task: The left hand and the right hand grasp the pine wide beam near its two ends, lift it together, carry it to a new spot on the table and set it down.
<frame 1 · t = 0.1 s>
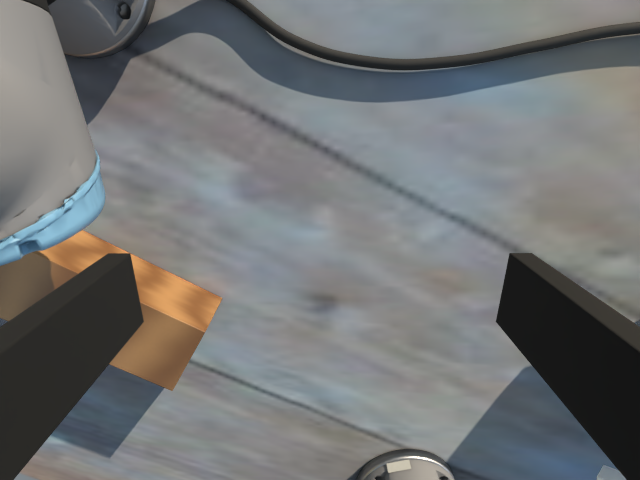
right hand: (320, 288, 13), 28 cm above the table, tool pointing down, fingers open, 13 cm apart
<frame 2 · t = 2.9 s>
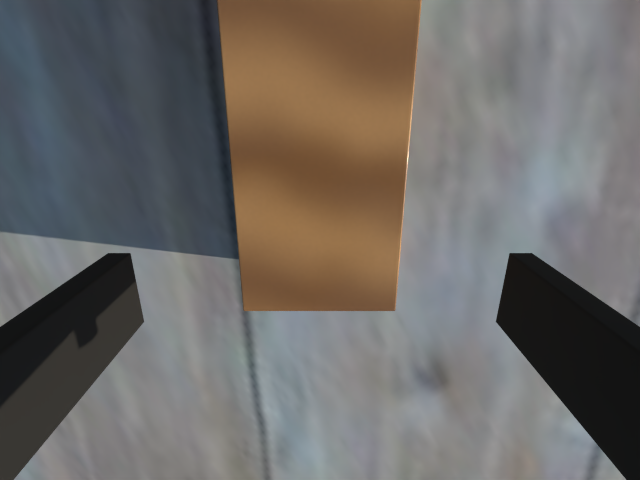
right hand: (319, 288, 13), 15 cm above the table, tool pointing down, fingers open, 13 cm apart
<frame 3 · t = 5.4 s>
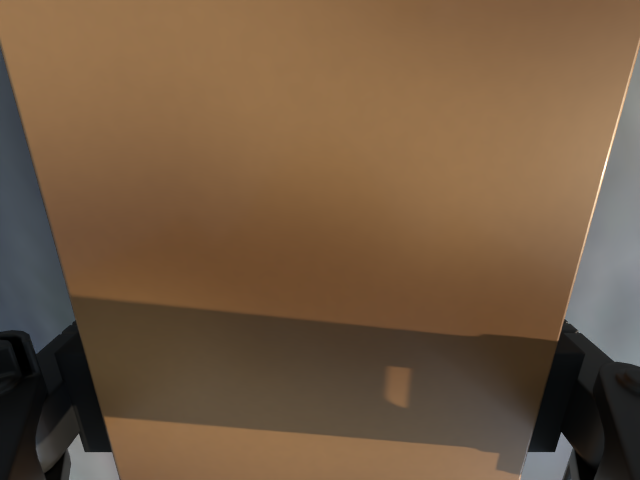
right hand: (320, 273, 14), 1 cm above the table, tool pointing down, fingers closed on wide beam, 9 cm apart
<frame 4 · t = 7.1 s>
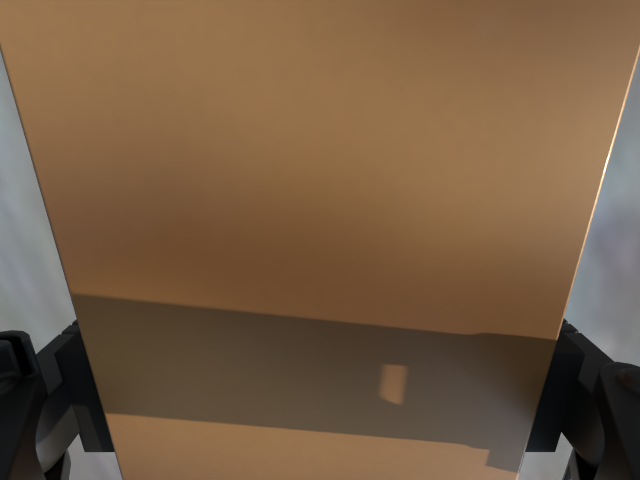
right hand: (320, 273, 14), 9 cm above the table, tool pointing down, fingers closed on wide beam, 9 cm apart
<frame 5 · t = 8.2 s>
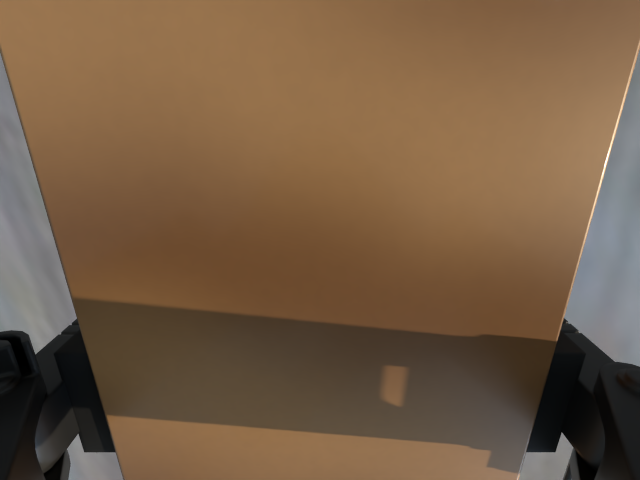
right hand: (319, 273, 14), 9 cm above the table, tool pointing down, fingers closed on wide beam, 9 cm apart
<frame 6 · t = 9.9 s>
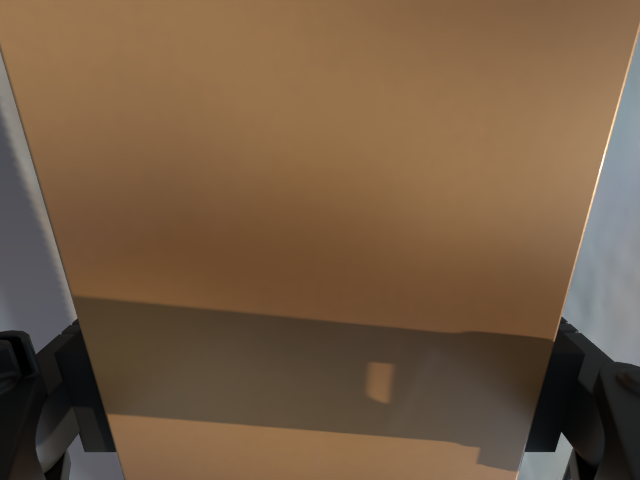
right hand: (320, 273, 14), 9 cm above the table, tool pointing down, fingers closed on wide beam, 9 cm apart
when the left hand's fingers open (1 cm above the table, at t = 11.3 s): wide beam stays where it is, on the table.
when the right hand's fingers open (2 cm above the table, at t = 11.3 s): wide beam stays where it is, on the table.
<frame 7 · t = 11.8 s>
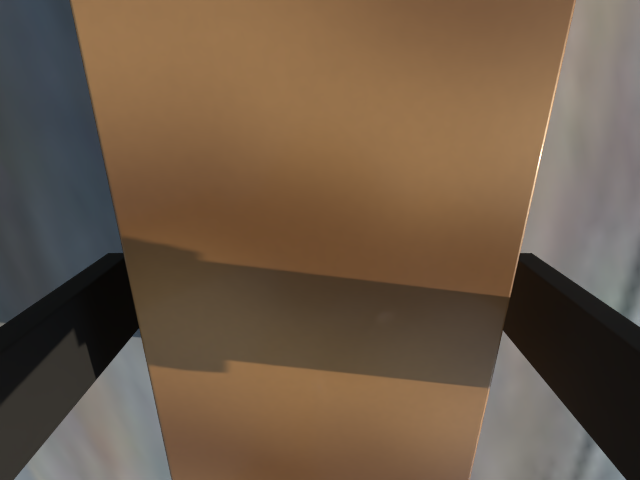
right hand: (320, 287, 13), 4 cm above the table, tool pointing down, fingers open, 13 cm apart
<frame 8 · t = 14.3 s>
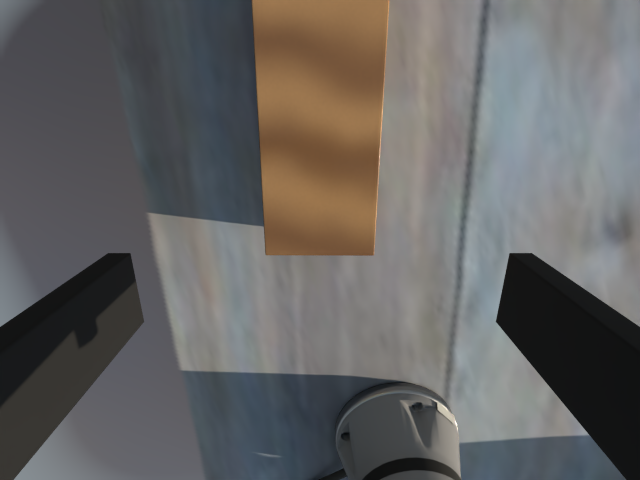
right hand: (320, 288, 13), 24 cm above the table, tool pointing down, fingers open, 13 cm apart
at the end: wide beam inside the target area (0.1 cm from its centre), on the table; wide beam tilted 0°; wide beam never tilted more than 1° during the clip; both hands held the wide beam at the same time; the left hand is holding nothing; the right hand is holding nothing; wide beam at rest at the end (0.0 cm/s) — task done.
